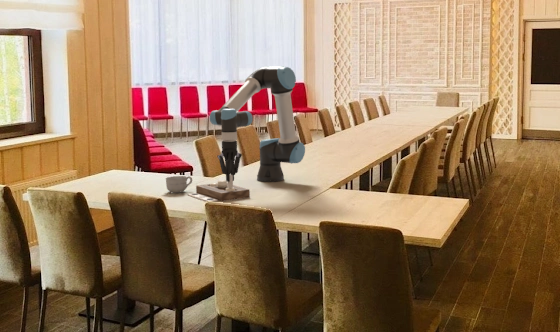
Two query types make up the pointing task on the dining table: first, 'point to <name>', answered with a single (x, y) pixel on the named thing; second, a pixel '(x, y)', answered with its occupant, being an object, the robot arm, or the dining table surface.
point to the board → (222, 192)
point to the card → (202, 197)
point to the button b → (222, 184)
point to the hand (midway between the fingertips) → (230, 187)
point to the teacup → (177, 183)
